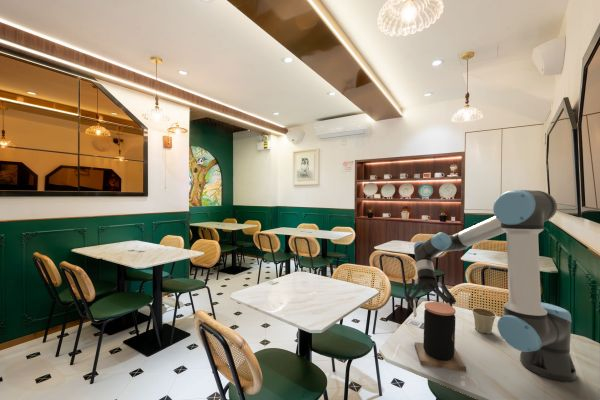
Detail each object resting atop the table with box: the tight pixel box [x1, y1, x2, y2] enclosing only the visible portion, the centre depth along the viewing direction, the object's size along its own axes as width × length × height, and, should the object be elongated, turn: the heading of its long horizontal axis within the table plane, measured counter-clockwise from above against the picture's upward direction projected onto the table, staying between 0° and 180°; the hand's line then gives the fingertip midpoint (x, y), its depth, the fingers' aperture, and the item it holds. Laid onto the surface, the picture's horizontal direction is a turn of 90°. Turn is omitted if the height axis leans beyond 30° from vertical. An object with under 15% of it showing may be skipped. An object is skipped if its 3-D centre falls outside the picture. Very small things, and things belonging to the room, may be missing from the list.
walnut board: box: [414, 341, 467, 372], centre depth 105 cm, size 15×13×2 cm
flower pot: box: [471, 307, 497, 335], centre depth 126 cm, size 9×9×9 cm
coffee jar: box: [422, 301, 456, 361], centre depth 105 cm, size 11×11×18 cm
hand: (432, 317), depth 114 cm, fingers open, 13 cm apart
